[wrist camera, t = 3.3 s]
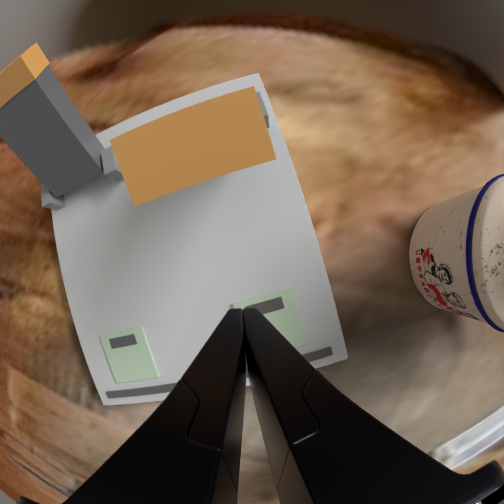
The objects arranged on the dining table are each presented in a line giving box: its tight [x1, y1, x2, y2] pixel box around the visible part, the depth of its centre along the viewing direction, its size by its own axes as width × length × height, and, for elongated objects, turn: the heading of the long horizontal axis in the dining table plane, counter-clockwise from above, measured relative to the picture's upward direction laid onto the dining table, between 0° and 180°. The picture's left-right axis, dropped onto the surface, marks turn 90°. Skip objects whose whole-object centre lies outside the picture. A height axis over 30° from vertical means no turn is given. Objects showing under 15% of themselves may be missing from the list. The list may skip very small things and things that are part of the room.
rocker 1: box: [0, 43, 105, 197], centre depth 16 cm, size 3×5×11 cm, turn 106°
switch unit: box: [40, 73, 348, 405], centre depth 20 cm, size 22×20×4 cm
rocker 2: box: [109, 86, 276, 206], centre depth 14 cm, size 3×5×11 cm
